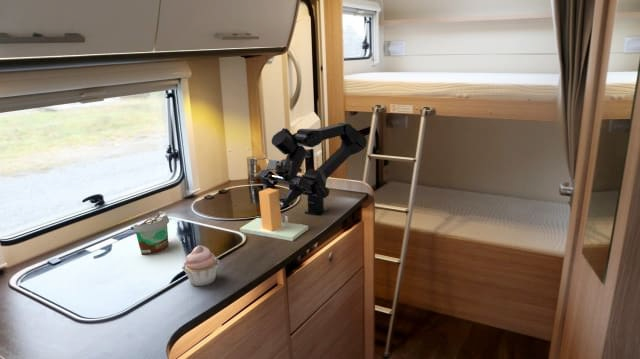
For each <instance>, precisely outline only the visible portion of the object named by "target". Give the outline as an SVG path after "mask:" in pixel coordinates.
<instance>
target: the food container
mask: <svg viewBox="0 0 640 359" xmlns="http://www.w3.org/2000/svg"><path fill="white" fill-rule="evenodd" d="M169 222H170V218H169V216H168V215H167V214H166V212H164V211H158V214H157V215H155V216H154V217H151V218H148V219H146V220H145V221H144V222H142V223H141V224H133V233H135V235H136V238H137V242H138V246H139V247H138V248H139V249H140V254H141V255H142V256H149V255H155V254H160V253H162V252H164V251H166V250H167V249H168V248H169V231H168V224H169Z"/></svg>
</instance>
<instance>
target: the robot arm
mask: <svg viewBox="0 0 640 359" xmlns="http://www.w3.org/2000/svg"><path fill="white" fill-rule="evenodd" d="M338 137H339V140H341V142H340V146H339V148H338V149H336V151H334V152H333V154H331V155H330V156H329V157H328V158H327V159H326V160H325V161H324V162H323V163H322V164H320V166H318V168H316V169H313V168H308V169H307V170H306V171H305V172H304V173H303V174H301V176H300V175H298V173H302V171H303V169H302V166H303V163H304V161H305V159H306V158H309V159H311V158H312V155H311V152H310V151H311V150H310V149H306V148H307V147H308V148H315V147H317V146H318V145H320V144H321V143H322V142H323V141H327V140H329V139H334V138H338ZM271 144H272V145H273V146H274V147H275V149H277V150H278V151H279V152H280V153H282V154H283V155H285V156H286V157H285V158H284V159H283V158H282V159H281V160H275V159H269V160H268V165H267V169H262V170H260V172H259V174H258V177H259V178H260V180H261V181H262V186H263V188H262V190H265V189H267V188H271V189H276V187H277V186H276V185H277V184H278V183H281V184H286V185H288V191H287V193H286V196H285V197H284V199H283V203H282V206H283V207H287V206H288V205H289V204H290V203H292V202H293V201H294V200H296V199H297V198H298V197H300V196H301V195H302V196H303V195H304V196H307V197H306V198H307V209H306V210H305V211H304V214H306V215H307V214H308V215H315V216H322V215H323V214H325V213H326V212H327V211H329V208H328V207H325V199H326V198H327V197H329V195H330V189H329V188H328V187H327V186H326V185H327V181H328V179H329V178H330V177H331V175H332V174H334V172H336V171H337V170H338V169H339V168H340V167H341V165H342V164H343V163H344V162H345V161H347V160H348V158H350V156H353V155H355V154H359V153H360V152H361V151H363V150H364V149H365V148H366V147H367V139H366V135H364V134H362V132H360V131H359V130H357V129H356V128H354V126H352V125H351V124H350V123H349V122H348V123H346V122H338V123H335V124H332V125H328V126H327V125H326V126H324V127H319V128H299V129H297V131H296V132H295V133H291V132H290V130H289V129H288V128H285V127H283V128H282V129H281V130H280V131H278V132H276V133H275V134H274V135H273V136H272V137H271ZM305 147H306V148H305Z"/></svg>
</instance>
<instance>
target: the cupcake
mask: <svg viewBox="0 0 640 359" xmlns="http://www.w3.org/2000/svg"><path fill="white" fill-rule="evenodd" d="M219 262H220V259H217V257H216V256H215V254H214V253H213V252H211V250H210V249H209V248H208V247H206V246H203V245H198V246H195V247H194V248H193V249H192V251H191V253H190V252H189V254H187V256H186V257H185V262H184V263H183V266H182V267H181V269H182V270H183V271H184V272H185V274H186V276H187V278H188V280H189V282H190V284H191V285H192V286H194V287H203V286H204V287H205V286H207V285H210V284H212V283H214V281H215V280H216V277H217V276H216V275H217V268H218V267H219Z"/></svg>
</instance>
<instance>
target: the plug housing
mask: <svg viewBox="0 0 640 359" xmlns="http://www.w3.org/2000/svg"><path fill="white" fill-rule="evenodd" d="M258 196H259V198H258V199H259V209H260V215H261V216H260V218H261V220H262V229H265V230H268V231H271V232H272V231H274V230H277V229H279V228H281V227H282V226H281V217H282V214H281V203H280V190H279V189H276V188H275V189H271V188H267V189H265V190H263V189H262V190H260V191H258Z"/></svg>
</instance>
